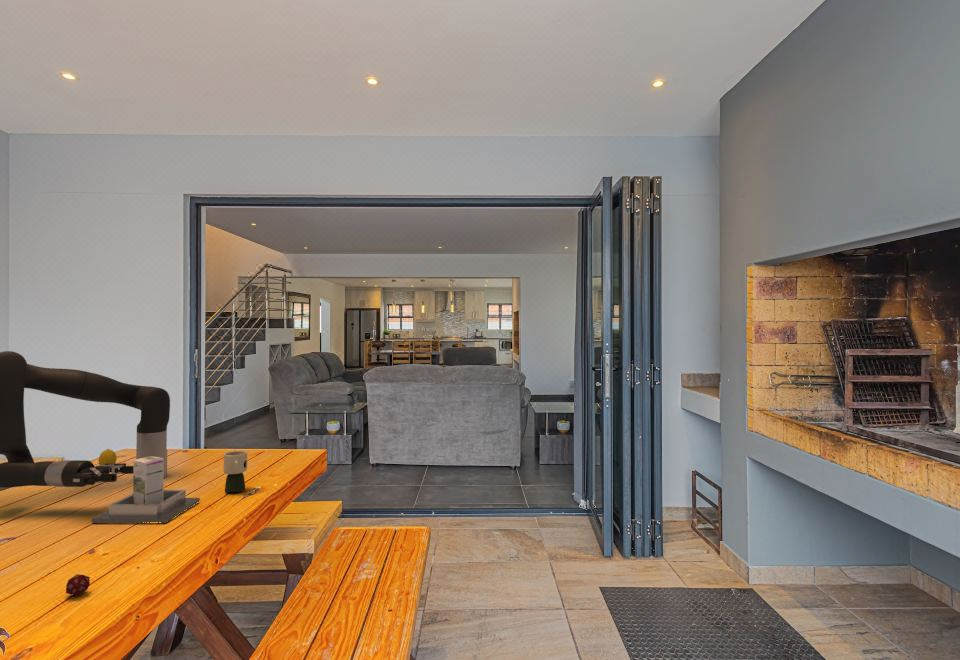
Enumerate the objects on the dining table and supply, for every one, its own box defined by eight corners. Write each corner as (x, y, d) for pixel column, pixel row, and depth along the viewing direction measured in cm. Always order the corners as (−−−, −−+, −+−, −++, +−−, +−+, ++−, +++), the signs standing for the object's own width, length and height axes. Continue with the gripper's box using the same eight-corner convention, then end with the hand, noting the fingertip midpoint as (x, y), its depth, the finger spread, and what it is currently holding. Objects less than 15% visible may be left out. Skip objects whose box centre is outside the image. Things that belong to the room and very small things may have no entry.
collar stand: (134, 502, 157) (135, 488, 157) (199, 502, 158) (199, 488, 158) (91, 524, 139) (92, 507, 139) (165, 524, 140) (165, 507, 140)
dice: (72, 590, 104) (73, 570, 104) (95, 589, 104) (96, 570, 104) (59, 600, 100) (59, 579, 100) (83, 599, 100) (83, 579, 100)
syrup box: (164, 506, 150) (165, 457, 150) (144, 512, 144) (145, 461, 145) (151, 503, 152) (152, 455, 152) (131, 509, 147) (132, 459, 147)
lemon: (106, 472, 191) (107, 450, 191) (94, 471, 192) (95, 450, 192) (119, 468, 196) (120, 447, 197) (108, 467, 198) (108, 447, 198)
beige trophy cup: (248, 494, 166) (248, 455, 166) (224, 498, 162) (224, 457, 163) (245, 485, 175) (245, 448, 176) (222, 488, 172) (223, 450, 172)
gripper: (50, 467, 141) (109, 467, 141) (88, 455, 155) (141, 455, 156) (49, 494, 141) (108, 494, 141) (87, 479, 155) (141, 479, 156)
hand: (126, 473), depth 149 cm, fingers open, 8 cm apart
